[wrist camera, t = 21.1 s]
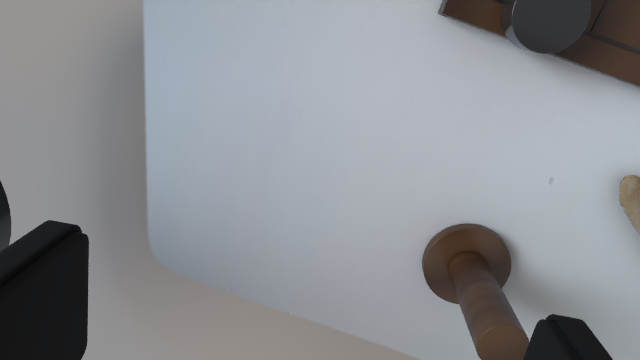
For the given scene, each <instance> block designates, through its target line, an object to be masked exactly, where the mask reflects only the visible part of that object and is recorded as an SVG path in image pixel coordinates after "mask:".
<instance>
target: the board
mask: <svg viewBox="0 0 640 360" xmlns="http://www.w3.org/2000/svg"><path fill="white" fill-rule="evenodd" d="M504 2H505V0H443V1H442V4H441V6H440V9H439V11H438V14H440V15H443V16H446V17H449V18H451V19H454V20H457V21H460V22H462V23H465V24H468V25H470V26H473V27H476V28H479V29H481V30H484V31H487V32H490V33H492V34H495V35H498V36H501V37H503V38H506V39H507V37H506V36H505V34H504V32H503V29H502V25H501V12H502V8H503V5H504ZM548 54H550V55H553V56H555V57H558V58H561V59H563V60H566V61H569V62H572V63H574V64H577V65H580V66H583V67H585V68H588V69H591V70H594V71H596V72H599V73H602V74H604V75H607V76H610V77H613V78H615V79H618V80H621V81H624V82H626V83H629V84H632V85H635V86H637V87H640V0H591V15H590V19H589V22H588V25H587V27H586V29H585V30H584V32H583V33H582V35H581V36H580V37H579V38H578V39H577V40H576V41H575V42H574V43H573V44H572V45H570V46H569V47H567V48H565V49H563V50H561V51H558V52H555V53H548Z"/></svg>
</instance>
